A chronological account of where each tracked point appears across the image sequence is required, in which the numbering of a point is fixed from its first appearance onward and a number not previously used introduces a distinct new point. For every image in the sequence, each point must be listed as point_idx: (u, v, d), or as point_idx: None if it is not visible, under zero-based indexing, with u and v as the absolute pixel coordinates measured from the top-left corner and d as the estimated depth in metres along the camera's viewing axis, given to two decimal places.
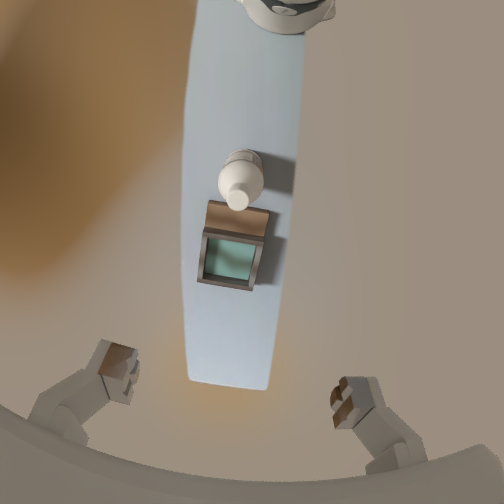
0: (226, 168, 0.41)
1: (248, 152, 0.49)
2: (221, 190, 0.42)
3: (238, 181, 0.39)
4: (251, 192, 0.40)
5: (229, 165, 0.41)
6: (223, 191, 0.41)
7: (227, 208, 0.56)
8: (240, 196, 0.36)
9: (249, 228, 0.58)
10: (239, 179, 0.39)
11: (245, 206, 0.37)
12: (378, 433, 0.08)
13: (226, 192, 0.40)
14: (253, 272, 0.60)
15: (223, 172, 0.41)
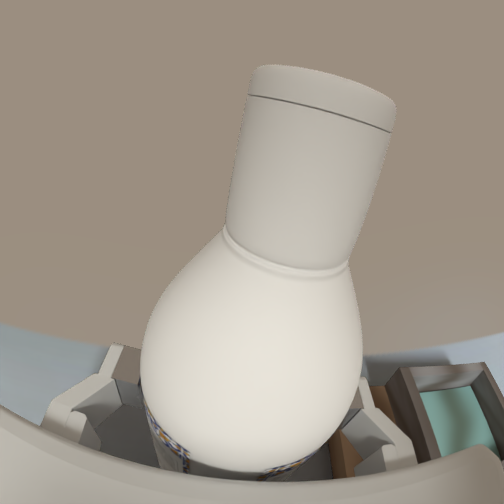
0: (167, 405, 0.06)
1: None
2: (311, 397, 0.05)
3: (220, 241, 0.06)
4: None
5: (153, 397, 0.06)
6: (317, 373, 0.05)
7: None
8: None
9: None
10: (211, 249, 0.06)
11: None
12: (367, 434, 0.08)
13: (315, 320, 0.05)
14: (459, 370, 0.19)
15: (190, 415, 0.06)
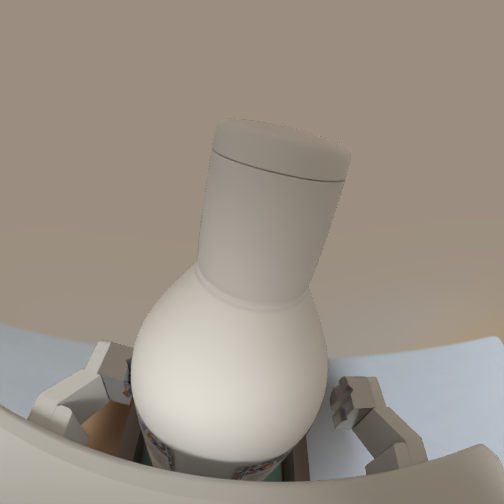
0: (152, 410, 0.07)
1: None
2: (272, 409, 0.06)
3: (193, 274, 0.07)
4: None
5: (141, 403, 0.07)
6: (276, 388, 0.06)
7: None
8: (256, 123, 0.06)
9: (121, 413, 0.18)
10: (186, 280, 0.07)
11: (304, 132, 0.07)
12: (378, 433, 0.08)
13: (272, 345, 0.06)
14: None
15: (170, 419, 0.06)
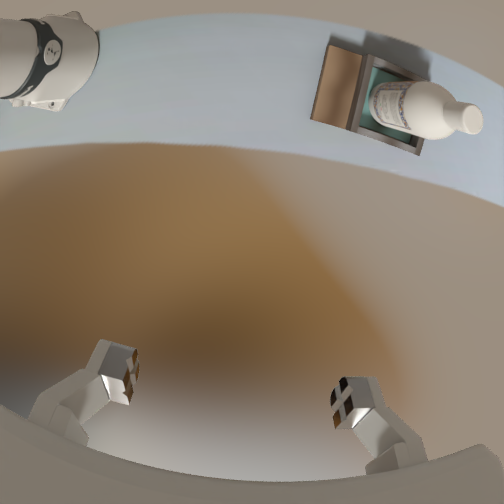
0: (414, 124, 0.25)
1: (378, 95, 0.31)
2: (441, 137, 0.24)
3: (440, 112, 0.21)
4: (452, 99, 0.20)
5: (410, 119, 0.25)
6: (444, 135, 0.24)
7: (321, 95, 0.36)
8: (469, 114, 0.18)
9: (350, 71, 0.33)
10: (438, 110, 0.21)
11: (479, 111, 0.17)
12: (378, 433, 0.08)
13: (448, 131, 0.22)
14: (411, 76, 0.31)
15: (419, 129, 0.25)
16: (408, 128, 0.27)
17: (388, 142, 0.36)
